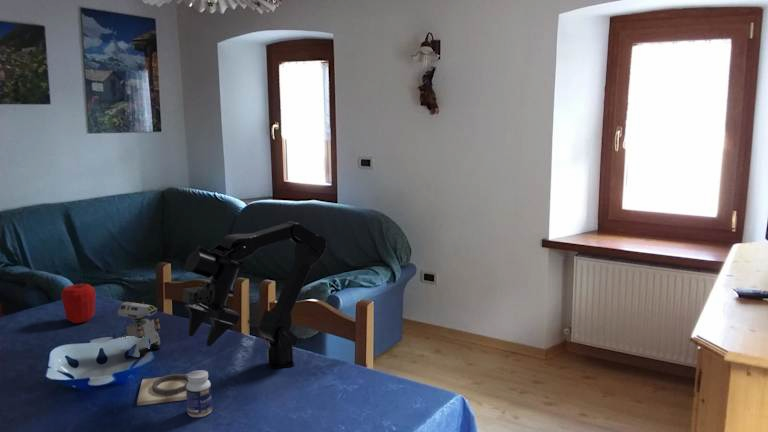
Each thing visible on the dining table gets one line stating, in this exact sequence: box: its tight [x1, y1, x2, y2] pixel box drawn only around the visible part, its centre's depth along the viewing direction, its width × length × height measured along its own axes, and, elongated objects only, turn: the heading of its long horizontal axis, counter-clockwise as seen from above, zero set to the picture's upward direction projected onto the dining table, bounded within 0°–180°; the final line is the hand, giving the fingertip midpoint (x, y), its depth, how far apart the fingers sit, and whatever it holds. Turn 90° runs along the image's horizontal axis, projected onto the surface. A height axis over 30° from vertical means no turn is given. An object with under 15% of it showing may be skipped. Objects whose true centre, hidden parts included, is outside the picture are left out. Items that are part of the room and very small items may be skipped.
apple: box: [61, 282, 96, 325], centre depth 211 cm, size 11×10×14 cm
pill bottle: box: [186, 369, 213, 418], centre depth 150 cm, size 6×6×10 cm
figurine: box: [112, 301, 162, 350], centre depth 186 cm, size 9×12×15 cm
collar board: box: [136, 373, 189, 407], centre depth 162 cm, size 16×13×2 cm
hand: (199, 340), depth 159 cm, fingers open, 9 cm apart
